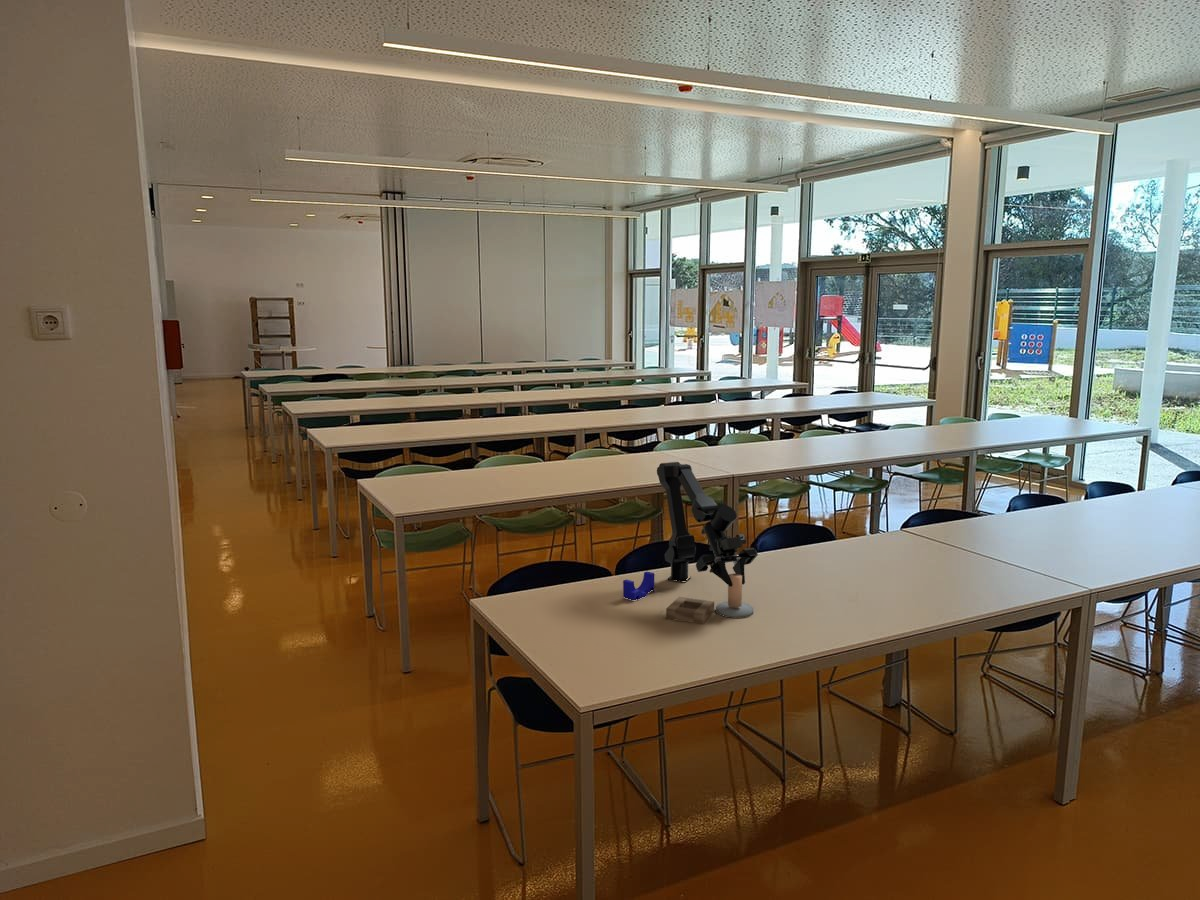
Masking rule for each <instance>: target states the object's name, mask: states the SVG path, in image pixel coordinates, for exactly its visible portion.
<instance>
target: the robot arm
mask: <svg viewBox="0 0 1200 900" xmlns="http://www.w3.org/2000/svg"><path fill="white" fill-rule="evenodd" d="M656 473H657V477H658V479H659V480H658V481H659V484H660V485H661V486H662V487H663V488H664V490H665V494H666V500H667V505H668V512H669V513H668V514H669V520H670V526H671V532H672V534H671V536H670V538H669V540H668V549H667V550H666V551H665V553H664V561H665V562H667V563H669V564H670V576H669V577H668V578H667V579H668V580H667V581H670V580H677V581H687V580H686V579H687V578H688V575H689V562H694V561H695V557H696V554H697V545H696V542H695V536H694V534H690V533H689V531H688V528H687V522H686V516H685V509H684V502H683V497H682V490H681V487H682V488H683V490H684V492H685V494H686V495H687V497H688V499H689V500H690V502H691V505H692V506H691V513H692V515H693V518H694V519H695V521H696V522H697V523H706V524H704V525H702V529H701V532H700V533H701V535H705V536H706V539H707V541H708V544H709V547H708V549H709V551H712V553H708V554H702V555H701V556H700V557H699V558H698V559H697V561H696V563H695V568H696V570H697V573H701V572H706V571H708V568H709V567H710V570H709V573H712V574H714V575H715V576H716V577H718V578H719V579H721V580H722V581H723V582H724V583H725V584H726V585H727V586H728V585H729V586H730V587H731V586H732V581H731V579H730V577H729V574H730V573H729V572H728V571H727V567H726V563H733V566H732V570H733V573H734V574H740V575H742V586H744V585H745V584H746V580H745V579H746V575H745V566H746V565H750V564H751V563H752V562H754V561H755V559H756V558H757V557H758V556H759V554H758V552H757V550H756V549H755V548H754V547H750V548H748V547H747V548H743V547H744V545H746V544H747V539H746V536H745V535H744V533H738V534H736V535H735V537H731V536H730V535H729V536H728V535H727V533H726V531H727V530H729V528H730V527H731V525H732V524H733V523H734V522H735V521H736V519H737V511H736V510H735V509H734V508H732V507H731V506H729V505H727V503H726V502H719V503H718V504H717V503H716V502H715V500H714V498H712V497H710V496H708V495H707V494H706V492H705V491H704V490H703V488H702V486H701V485H700V483H699V481H698V479H697V478H696V476H695V475H694V473H693V469H692V466H691V465H690V464H687V463H684V464H681V463H680V462H679V461H670V462H661V463H660V464H659V465H658V466H657V468H656ZM739 548H743V549H742V550H741V551H740V553H737V552H738V551H739V550H738V549H739ZM735 553H736V554H735ZM677 581H676V582H677ZM687 582H688V581H687Z"/></svg>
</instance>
